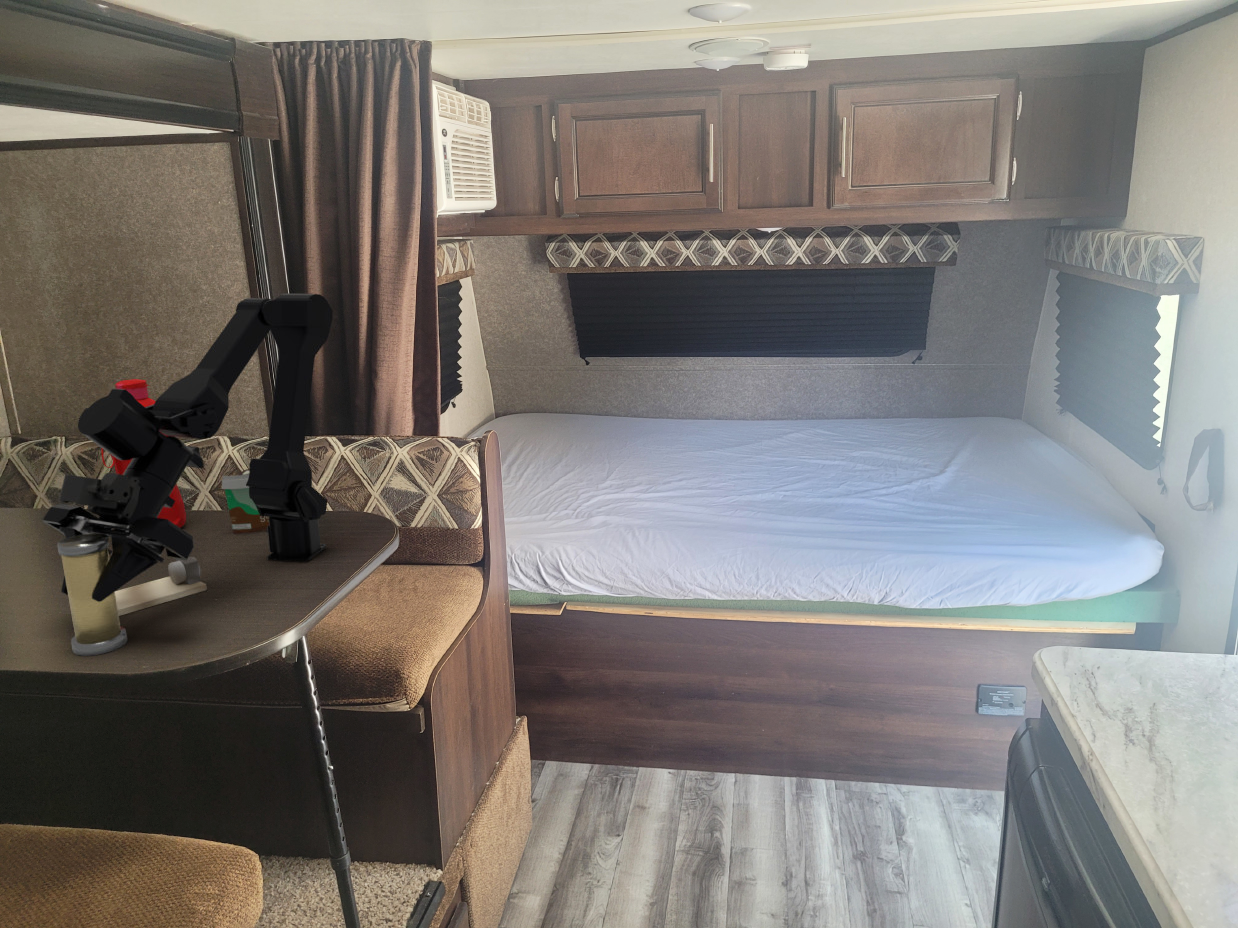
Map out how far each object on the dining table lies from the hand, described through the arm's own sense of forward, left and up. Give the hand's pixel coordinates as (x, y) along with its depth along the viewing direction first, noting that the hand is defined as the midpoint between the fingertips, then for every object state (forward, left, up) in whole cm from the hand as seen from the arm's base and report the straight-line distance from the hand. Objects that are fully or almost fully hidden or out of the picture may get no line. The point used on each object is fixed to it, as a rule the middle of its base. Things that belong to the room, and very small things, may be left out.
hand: (80, 597), depth 100 cm
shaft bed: (+4, -15, -7) cm, 17 cm away
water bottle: (+21, -41, -7) cm, 47 cm away
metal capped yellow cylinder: (0, -1, -7) cm, 7 cm away
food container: (+3, -46, -7) cm, 47 cm away
